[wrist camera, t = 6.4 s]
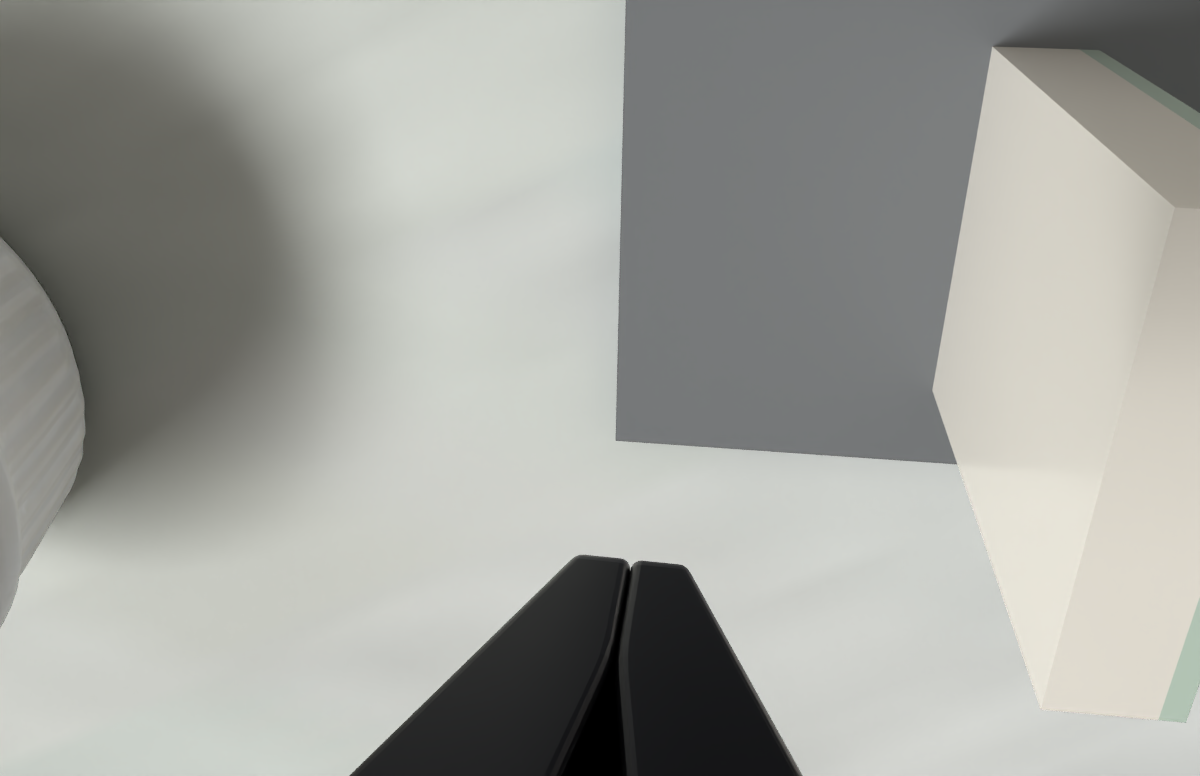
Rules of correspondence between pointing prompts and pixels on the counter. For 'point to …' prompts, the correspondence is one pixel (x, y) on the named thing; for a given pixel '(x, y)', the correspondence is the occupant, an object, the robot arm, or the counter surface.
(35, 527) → the ramekin
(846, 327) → the slate mat
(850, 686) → the counter surface
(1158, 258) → the sage tile
